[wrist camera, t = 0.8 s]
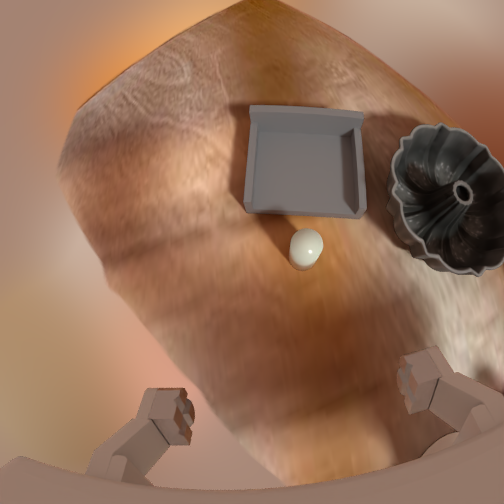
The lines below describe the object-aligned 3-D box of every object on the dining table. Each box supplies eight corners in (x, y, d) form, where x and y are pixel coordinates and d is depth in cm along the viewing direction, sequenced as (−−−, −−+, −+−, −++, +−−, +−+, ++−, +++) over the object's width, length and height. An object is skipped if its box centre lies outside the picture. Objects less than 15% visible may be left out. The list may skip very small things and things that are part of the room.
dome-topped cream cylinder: (315, 271, 50) (322, 261, 41) (287, 270, 50) (289, 259, 42) (316, 244, 51) (323, 229, 42) (289, 243, 51) (291, 227, 43)
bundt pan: (492, 180, 50) (518, 160, 41) (480, 302, 46) (512, 296, 36) (386, 131, 54) (400, 100, 45) (356, 256, 50) (374, 240, 40)
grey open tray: (359, 219, 51) (371, 201, 43) (246, 212, 53) (241, 194, 45) (354, 137, 54) (363, 112, 47) (253, 131, 56) (249, 105, 48)
